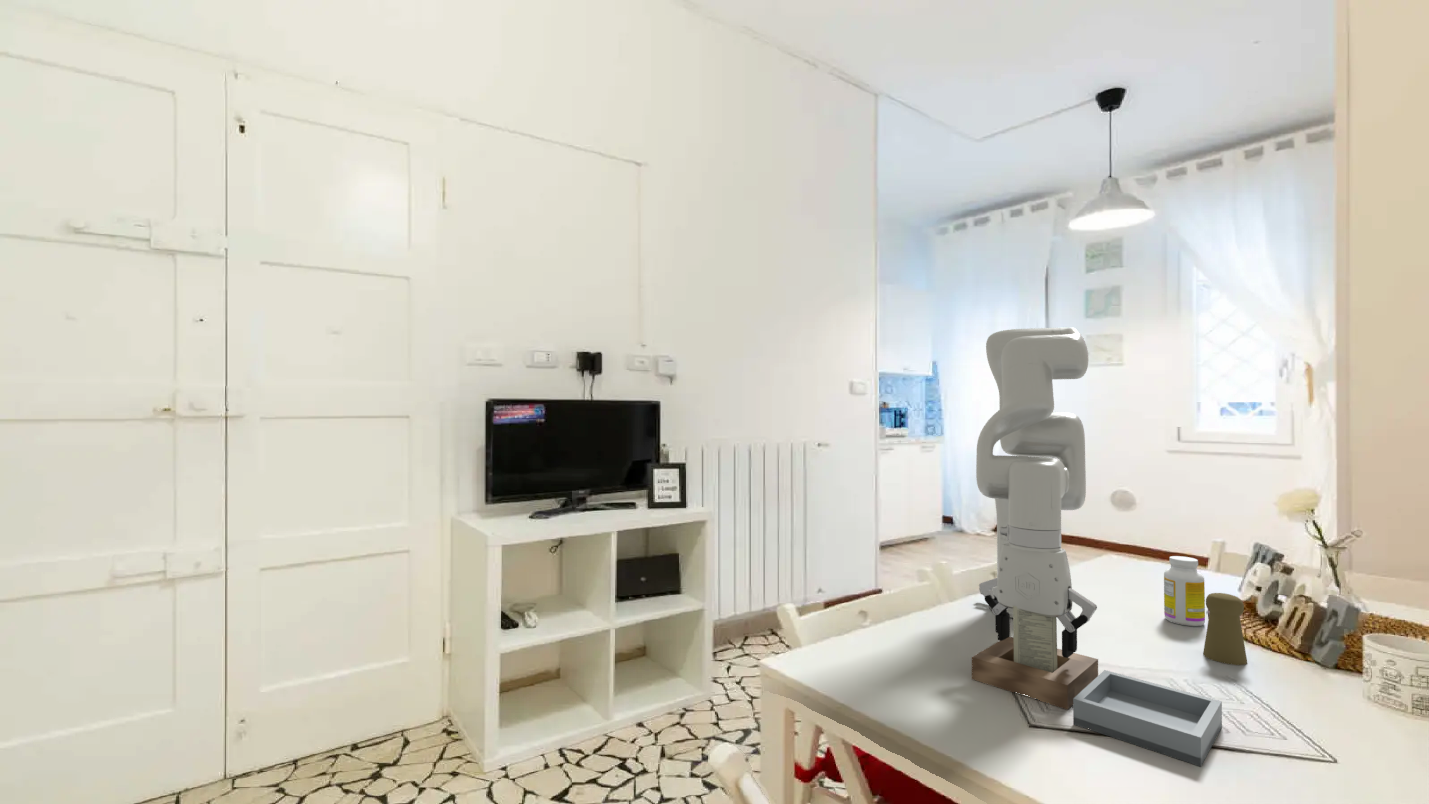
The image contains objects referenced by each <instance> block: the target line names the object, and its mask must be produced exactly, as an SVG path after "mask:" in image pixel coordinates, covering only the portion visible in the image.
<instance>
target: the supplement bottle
mask: <svg viewBox="0 0 1429 804" xmlns="http://www.w3.org/2000/svg"><path fill="white" fill-rule="evenodd" d="M1169 565H1170V567H1169V568H1167V569H1166V570H1165V571H1164V573H1163V600H1164V602H1163V609H1164V610H1163V613H1164V617H1165V619H1166V620H1167V621H1169V622H1171V623H1174V624H1177V625H1181V626H1187V627H1188V626H1189V627H1201V626H1203V625H1205V623H1206V609H1205V608H1206V597H1205V577H1204V575H1203V574H1202V573H1201V572H1199V571H1198V567H1199V559H1197V558H1194V557H1190V556H1189V557H1188V556H1182V555H1181V556H1180V555H1172V556H1169Z"/></svg>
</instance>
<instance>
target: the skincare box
mask: <svg viewBox="0 0 1429 804" xmlns="http://www.w3.org/2000/svg"><path fill="white" fill-rule="evenodd" d="M1057 625H1058V623H1057V617H1048V616H1043V615H1038V614H1034V613H1029V612H1025V611H1022V610H1020V609H1017V606H1013V618H1012V627H1013V629H1012V630H1013V632H1012V634H1013V636H1012V637H1013V638H1014V662H1016V663H1020V664H1023V665H1027V666H1030V667H1034V668H1037V669H1041V670H1044V671H1048V672H1051V673H1053V672H1054V671H1056V670H1057V649H1058V631H1057V628H1058V627H1057Z"/></svg>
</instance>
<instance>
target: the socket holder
mask: <svg viewBox="0 0 1429 804" xmlns="http://www.w3.org/2000/svg"><path fill="white" fill-rule="evenodd" d="M1098 676H1099V658H1097V657H1096V658H1095V657H1093V656H1092V657H1091V656H1087V655H1084V654H1080V653H1077V652H1074V653H1073V654H1072V655H1071V656H1069V657H1068V658H1065V657H1063V656H1062V648H1061V649H1060V648H1057V670H1056V671H1054V672H1053V673H1051V672H1048V671H1044V670H1041V669H1037V668H1034V667H1030V666H1027V665H1023V664H1020V663H1016V662H1014V638H1013V636H1011V635H1010V636H1009V637H1008V638H1006V639H1005V640H1002V641H1000V640H998V641H996V642H995V643H993V644H992V645H990V646H988V647H986V648H984V649H982V650H981V651H980V652H977V653H976V654H975V655H973V656H971V680H973V681H977V682H979V683H981V684H982V683H983V684H985V685H989V686H992V687H995V688H998V689H1002V690H1004V691H1008V692H1011V693H1014V692H1017V693H1020V694H1025V695H1028V696H1030V697H1032V698H1036V699H1038V700H1037V701H1039V700H1040V701H1039V702H1042V703H1045V702H1046V703H1045V704H1048V703H1049V704H1048V705H1052V706H1054V707H1058V708H1061V709H1064V710H1067V711H1068V710H1069V709H1070V708H1071V707H1073V698H1074V697H1076V696H1077V695H1078V694H1079V693H1080V692H1081V691H1082V690H1083V689H1084V688H1085V687H1087V686H1088V685H1089V684H1090V683H1091V682H1092V681H1093V680H1094V679H1095V678H1096V677H1098ZM1017 693H1016V694H1017ZM1020 694H1019V695H1020ZM1032 698H1031V699H1032Z"/></svg>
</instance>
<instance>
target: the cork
mask: <svg viewBox="0 0 1429 804" xmlns="http://www.w3.org/2000/svg"><path fill="white" fill-rule="evenodd" d="M1205 607H1206V609H1207V610H1208V611H1209V615H1208V622H1207V629H1206V632H1205V634H1206V635H1205V640H1204V645H1203V652H1202V655H1203V656H1204V657H1205V658H1206V659H1208V660H1212V661H1214V662H1218V663H1221V664H1226V665H1232V666H1245V665H1247V664H1248V658H1247V653H1246V646H1245V640H1244V633H1243V628H1242V623H1241V616H1242V615H1243V613H1244V610H1245V607H1244V602H1243V600H1242V599H1241V598H1240V597H1238V596H1236V595H1234V594H1231V593H1230V594H1229V593H1225V592H1213V593H1211V592H1210V593H1209V594H1207V596H1206V597H1205Z"/></svg>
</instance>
